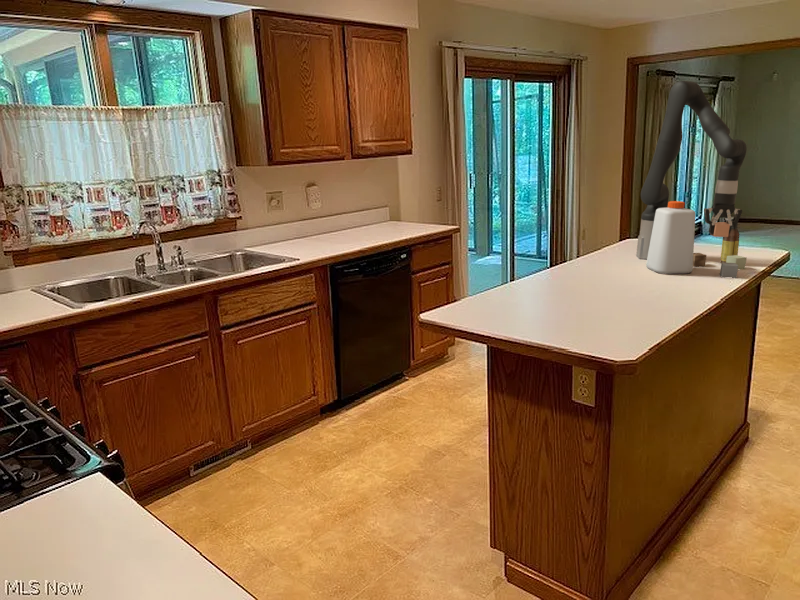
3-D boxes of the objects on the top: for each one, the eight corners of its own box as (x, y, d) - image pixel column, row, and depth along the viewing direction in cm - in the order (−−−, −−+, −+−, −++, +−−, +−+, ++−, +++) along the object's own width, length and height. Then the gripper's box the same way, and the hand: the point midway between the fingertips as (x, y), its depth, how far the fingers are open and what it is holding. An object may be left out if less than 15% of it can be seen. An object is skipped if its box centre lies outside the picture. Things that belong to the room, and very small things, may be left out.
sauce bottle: (732, 262, 255) (739, 216, 249) (739, 265, 249) (746, 218, 243) (716, 262, 255) (723, 216, 250) (722, 265, 249) (729, 218, 244)
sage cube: (734, 270, 241) (736, 258, 240) (725, 267, 246) (726, 255, 245) (744, 269, 243) (746, 257, 241) (735, 266, 247) (736, 255, 246)
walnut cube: (693, 267, 248) (695, 255, 246) (687, 264, 252) (688, 253, 251) (705, 266, 248) (706, 255, 247) (697, 264, 253) (699, 252, 251)
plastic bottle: (696, 274, 235) (705, 203, 227) (659, 275, 234) (667, 204, 226) (676, 265, 250) (684, 199, 242) (642, 266, 249) (649, 200, 241)
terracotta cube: (714, 236, 235) (716, 224, 234) (710, 234, 240) (712, 222, 238) (727, 236, 234) (729, 224, 233) (723, 234, 239) (725, 222, 238)
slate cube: (721, 277, 230) (723, 264, 228) (719, 274, 234) (721, 262, 233) (736, 278, 228) (738, 265, 227) (733, 275, 233) (735, 263, 231)
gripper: (741, 191, 235) (734, 233, 240) (703, 190, 237) (697, 232, 242) (749, 193, 228) (741, 236, 232) (709, 192, 230) (703, 235, 235)
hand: (719, 234), depth 237 cm, fingers closed on terracotta cube, 5 cm apart
